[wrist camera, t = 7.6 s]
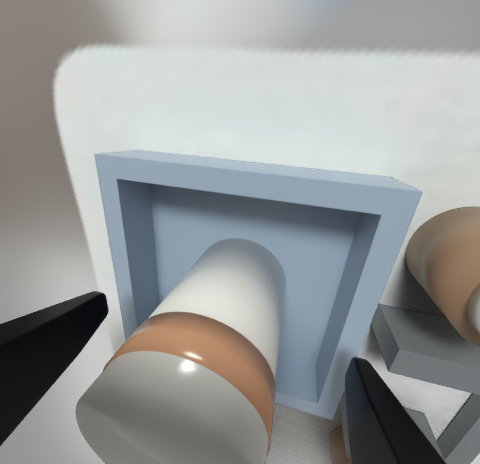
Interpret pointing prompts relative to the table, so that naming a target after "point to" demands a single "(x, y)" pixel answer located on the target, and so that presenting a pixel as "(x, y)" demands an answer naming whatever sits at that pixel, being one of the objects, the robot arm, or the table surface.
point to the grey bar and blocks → (431, 374)
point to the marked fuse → (196, 368)
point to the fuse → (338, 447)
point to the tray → (271, 237)
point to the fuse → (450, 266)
